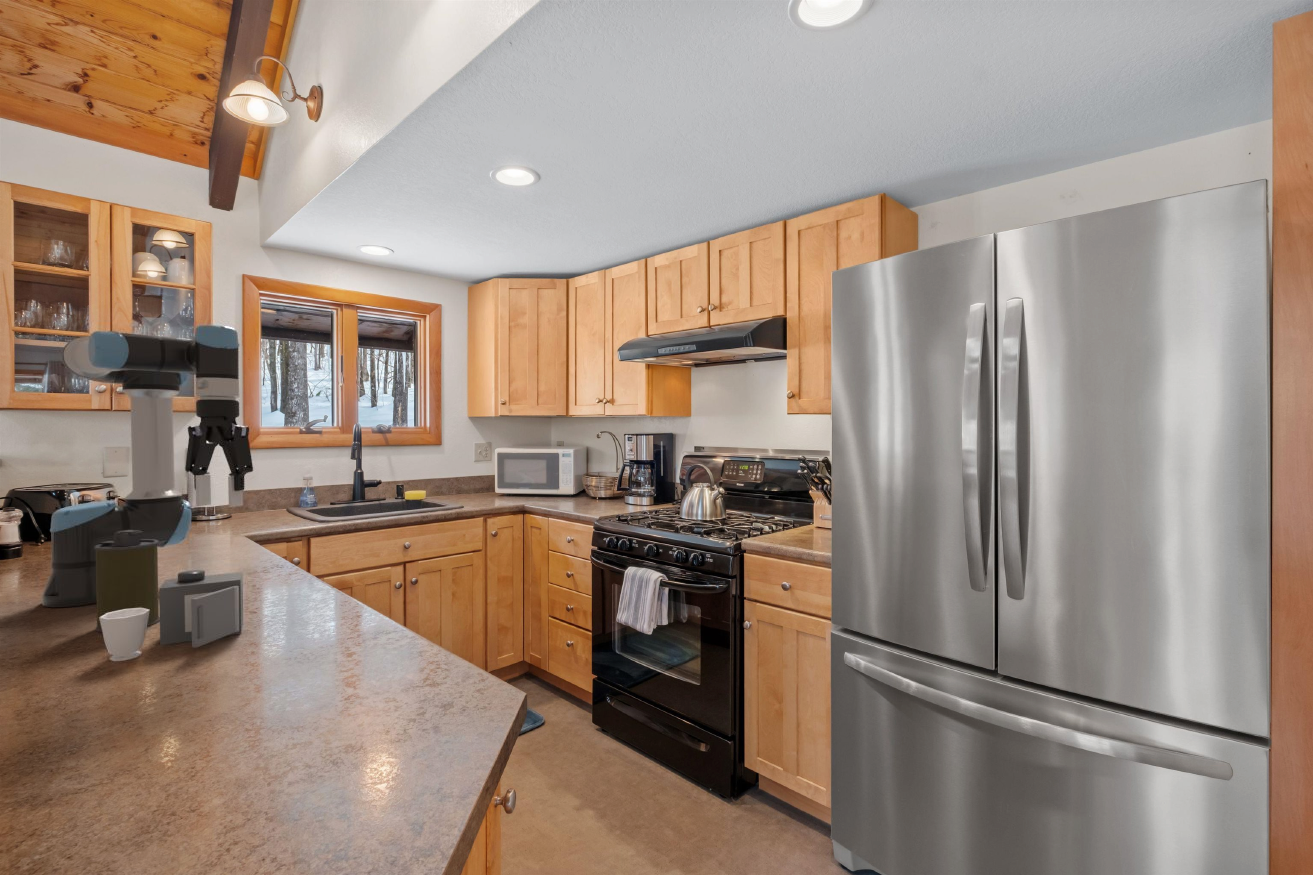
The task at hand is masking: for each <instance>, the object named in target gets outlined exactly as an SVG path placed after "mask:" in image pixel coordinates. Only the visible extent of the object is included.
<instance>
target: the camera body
mask: <svg viewBox="0 0 1313 875" xmlns="http://www.w3.org/2000/svg"><path fill="white" fill-rule="evenodd" d="M243 578H244V577H243V571H238V572H229V573H220V574H209V575H206V571H205V570H203V569H194V570H187V571H182V572H179V573H177V578H170V579H165V580H164V581H163V583H162V584H161V586H160V587H158V603H159V617H160V621H159V642H160V643H159V645H160V646H164V645H172V644H177V643H178V644H179V643H185V642H192V622H191V599H193V598H196V597H200V596H203V595H206V594H209V593H213V592H216V591H219V590H222V589H226V588H229V587H231V586H238V588H239V631H238V632H234V633H232V634H229V635H227V637H229V636H232V635H233V636H234V635H240V634H242V631H243V626H244V587H243V586H244V582H243V581H244V580H243Z"/></svg>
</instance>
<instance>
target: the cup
mask: <svg viewBox="0 0 1313 875" xmlns="http://www.w3.org/2000/svg"><path fill="white" fill-rule="evenodd" d="M149 611H150V610H149V609H145V608H131V609H122V610H118V611H113V612H109V613H106V614H105V615H103V616H101V617H99V619H100V623H101V627H102V632H101V633H102V635H103V641H104V644H105V647H106V649H107V650H106V651H108V654H109V655H112V656H110V657H109V660H110V661H113V662H122V661H127V660H128V661H129V660H132V659H135V658H138V657H139V656H141V655H142V651H140V649H142V648H143V646H144V645H143V644H144V641H145V638H146V634H147V629H148V626H147V623H148V617H149Z"/></svg>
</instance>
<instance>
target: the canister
mask: <svg viewBox="0 0 1313 875" xmlns="http://www.w3.org/2000/svg"><path fill="white" fill-rule="evenodd" d="M141 534H142V531H140V530H125V531H119V532H115V533H114V538H113V541H106V542H101V543H99V544H98V545H96V546H95V547H94V549H95V550H96V593H97V603H96V627H95V631H96V632H99V633H103V632H102V627H101V623H100V619H99V617H101V616H103V615H105V614H106V613H109V612H113V611H118V610H122V609H131V608H145V609H149V610H150V611H149V617H148V623H147V627H150V626H152V625H155V624H157V623H158V622H160V607H159V566H158V565H159V563H158V561H159V560H158V559H159V558H158V557H159V556H158V547H157V544H158V542H159V541H158V540H155V539H141Z"/></svg>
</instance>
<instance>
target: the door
mask: <svg viewBox="0 0 1313 875" xmlns="http://www.w3.org/2000/svg"><path fill="white" fill-rule="evenodd" d="M191 622H192V641H191V648H199V647H201V646H204V645H206V644H208V643H212V642H214V641H217V640H219V639H221V638H224V637H226V636H227V635H228V636H230V635H229V634H232V633H234V632H238V631H239V588H238V586H231V587H229V588H226V589H222V590H219V591H216V592H213V593H209V594H206V595H203V596H200V597H196V598H193V599H191ZM228 636H227V637H228Z"/></svg>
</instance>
